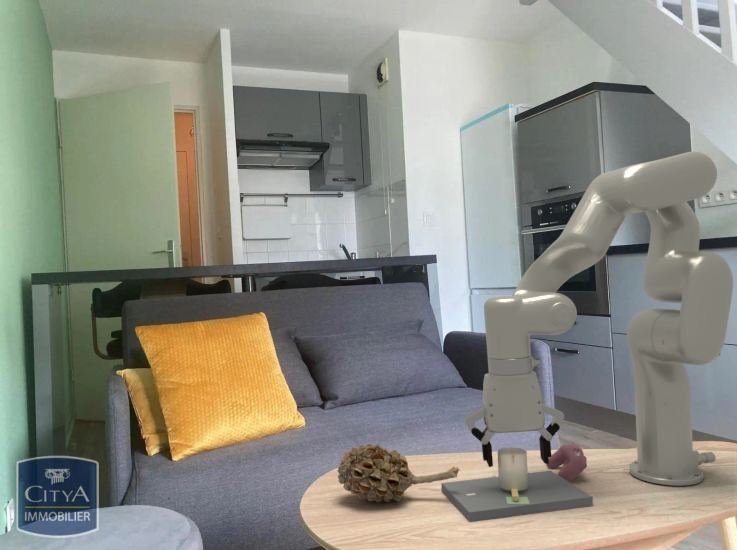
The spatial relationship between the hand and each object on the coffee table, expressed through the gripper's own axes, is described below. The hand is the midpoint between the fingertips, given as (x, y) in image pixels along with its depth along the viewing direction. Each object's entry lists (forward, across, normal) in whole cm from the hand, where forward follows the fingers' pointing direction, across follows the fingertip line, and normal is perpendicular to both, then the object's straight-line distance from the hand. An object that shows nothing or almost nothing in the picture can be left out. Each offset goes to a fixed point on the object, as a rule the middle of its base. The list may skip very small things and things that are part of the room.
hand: (517, 462), depth 104 cm
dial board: (+6, +1, 0) cm, 6 cm away
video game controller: (+7, -11, -11) cm, 17 cm away
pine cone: (+6, +21, 0) cm, 22 cm away
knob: (+4, +1, +2) cm, 5 cm away
